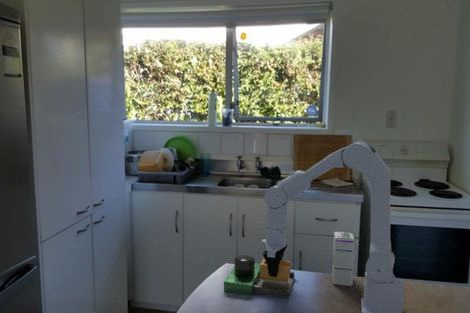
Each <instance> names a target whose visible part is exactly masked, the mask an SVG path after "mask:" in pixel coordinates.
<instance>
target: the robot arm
mask: <svg viewBox="0 0 470 313" xmlns="http://www.w3.org/2000/svg"><path fill="white" fill-rule="evenodd" d="M345 167H348V168H349V169H351V170H354V171H357V172H359V173H361V174H362V175H363V176H364V177H365V178H367V179H368V180H369V181H370V246H369V257H368V260H367V262H366V264H365V272H364V284H363V285H364V286H363V297H361V298H360V306H361V313H403V308H404V296H405V287H404V280H403V279H402V278H399V277H398V278H397V277H396V276H395V274H394V270H393V269H394V264H395V262H396V261H395V260H396V257H395V254H394V253H393V250H392V242H391V170H390V168H389V167H388V165H387V164H386V163H385V161H384V160H383V158H382V157H381V155H380V153H379V152H378V150H377V149H376V147H374V146H372V145H371V144H370V143H368V142H367V141H365V140H364V141H363V140H358V141H355V142H353V143H351V144H349V145H348V146H344V147H342V148H340V149H338V150H335V151H334V152H331V153H330V154H328V155H327V156H326V157H324V158H323V159H321V160H320V161H318V162H317V163H315V164H314V165H313V166H310V167H309V168H308V169H307V170H305V171H304V170H300V169H299V170H296V171H295V170H293V171H291V172H290V173H289V176H287V177H286V178H284V179H283V180H278V181H277V182H276V184H275V185H274V186H271V187H269V188H268V189H267V190H266V191H265V193H264V196H263V199H264V202H265V205H266V219H265V220H266V221H265V222H266V224H265V225H266V226H265V227H266V229H265V230H266V231H265V238H264V239H262V240H261V244H263V245H265V247H266V249H267V250H263V252H262V257H263V258H265V260H266V263H267V267H268V272H269V276H272V277H277V274H278V269H279V264H280V261H281V260H283V257H284V254H285V252H286V250H287V247H288V244H287V214H288V212H287V209H288V207H287V206H288V202H289V201H290V200H292V199H294V198H295V197H297V196H299V195H300V194H302V193H304V192H305V191H307V190H309V189H310V188H311V184H312V181H314V180H315V179H317V178H319V177H320V176H322V175H324V174H326V173H327V172H329V171H330V170H332V169H334V168H340V169H341V168H345Z"/></svg>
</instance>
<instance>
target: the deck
mask: <svg viewBox="0 0 470 313" xmlns="http://www.w3.org/2000/svg"><path fill="white" fill-rule="evenodd" d="M233 262H234V266H233V267H232V268H231V271H229V274H228V275H227V277H226V278H225V279H224V281H223V292H226V293H231V294H232V293H233V294H237V295H242V296H243V295H245V296H250V297H251V296H252V295H253V294H255V295H256V294H257V295H261V296H269V297H275V298H283V299H287V300H289V298H290V296H291V295H290V294H291V291H292V289H293V288H292V287H293V284H294V281H295V271H290V277H289V280H288V283H283V282H276V281H268V280H261V279H260V264H261V263H258V262H257V263H256V258H254V257H253V256H251V255H238V256H236V257H234V261H233Z"/></svg>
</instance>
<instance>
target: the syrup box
mask: <svg viewBox="0 0 470 313" xmlns="http://www.w3.org/2000/svg"><path fill="white" fill-rule="evenodd" d="M332 248H333V251H332V254H333V255H332V276H331V277H332V283H333V285H339V286H346V287H347V286H348V287H349V286H350V287H353V284H354V283H353V279H354V263H355V238H354V233H352V232H347V231H334V232H333V247H332Z"/></svg>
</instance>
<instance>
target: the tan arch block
mask: <svg viewBox="0 0 470 313" xmlns="http://www.w3.org/2000/svg"><path fill="white" fill-rule="evenodd" d="M259 264H260V279H261V280H268V281H276V282H283V283H288V280H289V277H290V272H291V261H290V260H287V259H286V260H283V259H282V260H281V261H280V264H279V269H278V274H277V277H272V276H269V272H268V267H267V263H266V260H265V258H264V257H263V259H262V261H261V262H260V263H259Z"/></svg>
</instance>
